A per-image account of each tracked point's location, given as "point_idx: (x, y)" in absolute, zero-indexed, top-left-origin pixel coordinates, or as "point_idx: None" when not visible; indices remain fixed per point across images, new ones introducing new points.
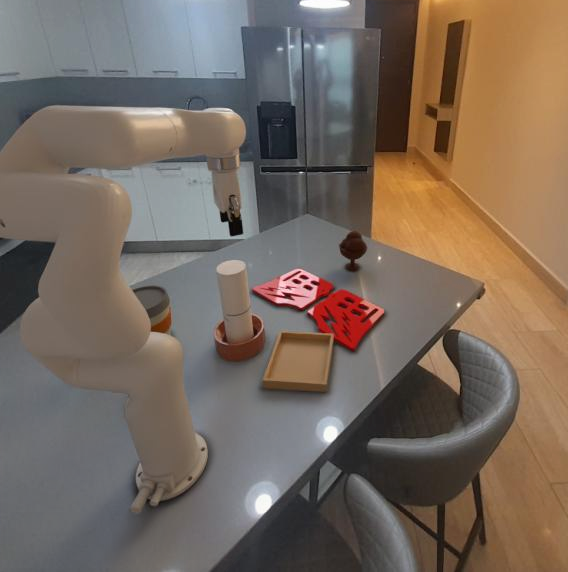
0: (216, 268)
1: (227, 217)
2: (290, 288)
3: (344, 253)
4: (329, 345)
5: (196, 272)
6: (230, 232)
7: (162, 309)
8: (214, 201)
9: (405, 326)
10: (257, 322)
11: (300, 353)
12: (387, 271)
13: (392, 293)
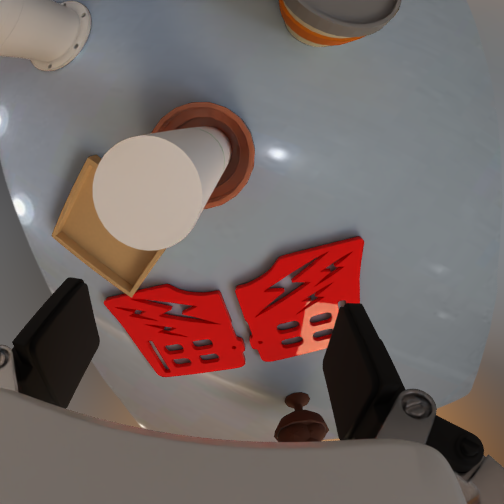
0: (161, 139)
1: (336, 359)
2: (308, 301)
3: (297, 417)
4: (109, 278)
5: (482, 171)
6: (57, 293)
7: (292, 8)
8: (392, 456)
9: (126, 372)
10: (215, 198)
11: None
12: (251, 423)
13: (198, 402)
